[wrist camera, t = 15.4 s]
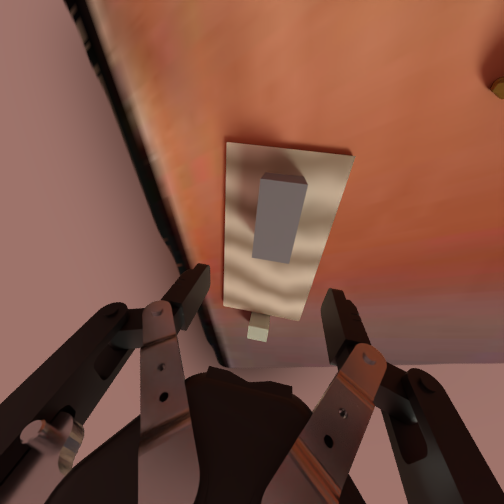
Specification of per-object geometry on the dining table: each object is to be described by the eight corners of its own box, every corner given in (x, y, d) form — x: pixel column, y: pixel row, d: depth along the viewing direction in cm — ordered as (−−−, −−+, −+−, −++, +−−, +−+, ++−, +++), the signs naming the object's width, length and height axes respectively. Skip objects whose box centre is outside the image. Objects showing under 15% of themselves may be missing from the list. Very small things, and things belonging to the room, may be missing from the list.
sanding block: (266, 171, 25) (260, 178, 19) (303, 176, 24) (308, 184, 19) (258, 238, 30) (251, 257, 25) (288, 243, 29) (289, 264, 24)
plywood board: (228, 142, 24) (226, 141, 24) (353, 155, 23) (355, 156, 22) (224, 302, 40) (223, 305, 39) (298, 317, 38) (299, 321, 37)
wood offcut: (252, 310, 40) (248, 325, 36) (270, 313, 39) (268, 329, 36) (250, 322, 42) (247, 338, 38) (267, 325, 41) (266, 342, 38)
